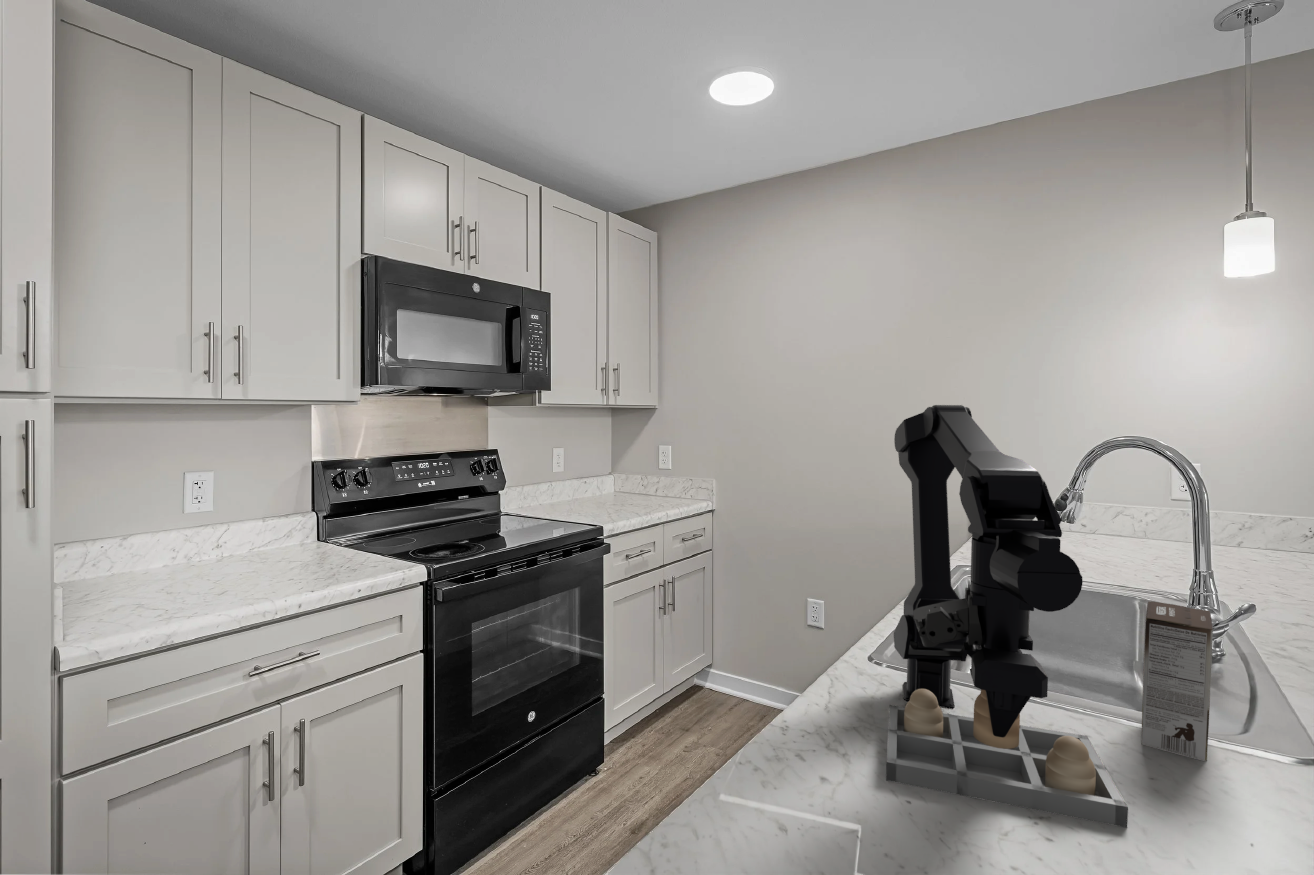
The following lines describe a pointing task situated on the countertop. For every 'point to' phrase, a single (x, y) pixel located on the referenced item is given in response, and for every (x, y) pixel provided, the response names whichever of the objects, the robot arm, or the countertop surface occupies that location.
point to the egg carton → (996, 769)
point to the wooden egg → (984, 728)
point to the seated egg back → (923, 714)
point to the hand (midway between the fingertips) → (995, 726)
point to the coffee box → (1177, 679)
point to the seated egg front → (1070, 767)
